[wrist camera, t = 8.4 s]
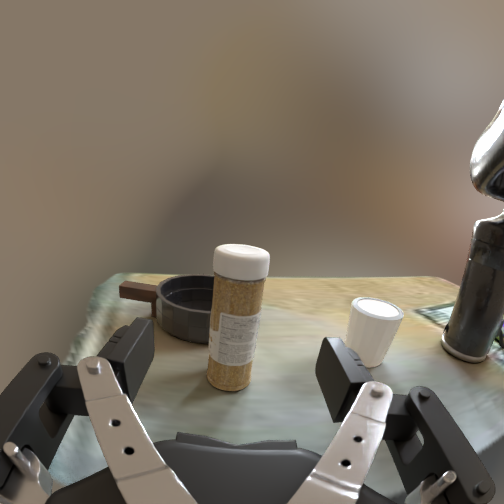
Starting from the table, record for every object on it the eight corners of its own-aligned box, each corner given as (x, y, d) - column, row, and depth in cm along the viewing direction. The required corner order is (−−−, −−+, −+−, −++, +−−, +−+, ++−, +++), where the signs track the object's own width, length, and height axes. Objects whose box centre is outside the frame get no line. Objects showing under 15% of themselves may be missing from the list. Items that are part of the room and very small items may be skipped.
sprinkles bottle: (210, 362, 28) (219, 240, 24) (252, 368, 27) (270, 246, 24) (202, 389, 23) (209, 251, 20) (250, 396, 23) (271, 259, 20)
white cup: (334, 362, 30) (349, 311, 28) (342, 337, 36) (354, 292, 34) (386, 375, 27) (406, 324, 25) (386, 348, 33) (401, 303, 31)
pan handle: (163, 311, 38) (163, 286, 37) (159, 317, 35) (159, 291, 35) (126, 304, 37) (124, 280, 36) (120, 310, 35) (118, 285, 34)
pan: (249, 305, 44) (252, 279, 43) (252, 351, 31) (257, 318, 30) (169, 296, 43) (170, 270, 42) (144, 337, 30) (142, 304, 29)
